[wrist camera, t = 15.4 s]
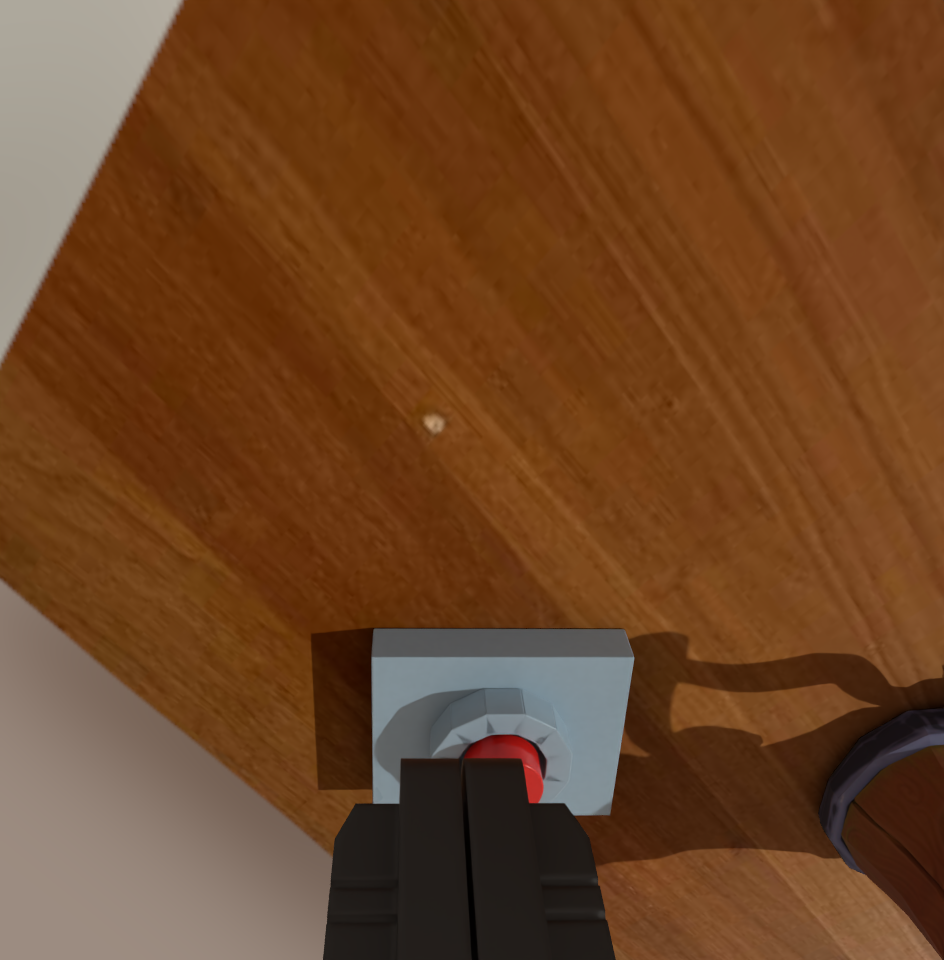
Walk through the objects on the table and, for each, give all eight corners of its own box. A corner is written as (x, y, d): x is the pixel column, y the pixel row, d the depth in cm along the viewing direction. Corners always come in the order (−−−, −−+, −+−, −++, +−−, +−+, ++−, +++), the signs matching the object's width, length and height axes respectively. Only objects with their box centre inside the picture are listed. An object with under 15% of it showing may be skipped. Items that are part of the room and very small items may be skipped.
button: (460, 791, 42) (462, 821, 41) (463, 733, 40) (465, 761, 39) (536, 790, 42) (540, 820, 41) (542, 732, 41) (547, 760, 39)
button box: (374, 785, 46) (371, 847, 43) (373, 627, 42) (369, 683, 38) (602, 782, 47) (617, 844, 44) (624, 628, 43) (643, 683, 39)
